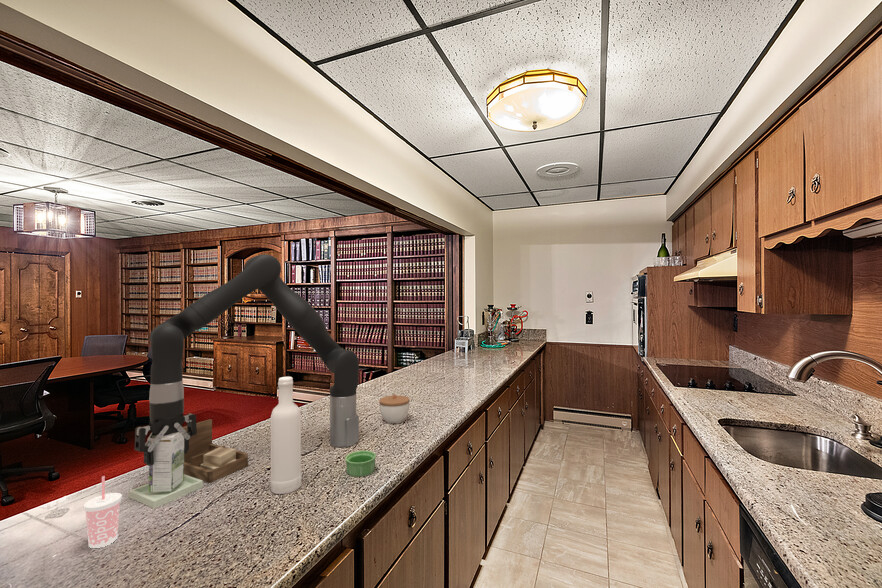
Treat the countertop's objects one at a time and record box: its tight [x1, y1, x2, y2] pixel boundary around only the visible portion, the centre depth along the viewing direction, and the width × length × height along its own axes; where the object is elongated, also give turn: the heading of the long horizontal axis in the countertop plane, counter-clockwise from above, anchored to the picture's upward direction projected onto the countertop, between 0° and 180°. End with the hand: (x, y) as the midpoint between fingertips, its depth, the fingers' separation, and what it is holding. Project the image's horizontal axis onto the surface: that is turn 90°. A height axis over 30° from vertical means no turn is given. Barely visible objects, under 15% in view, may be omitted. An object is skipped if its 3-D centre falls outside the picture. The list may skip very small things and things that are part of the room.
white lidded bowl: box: [378, 394, 410, 424], centre depth 160 cm, size 13×13×11 cm
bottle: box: [269, 376, 302, 495], centre depth 104 cm, size 8×8×30 cm
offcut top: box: [203, 447, 237, 467], centre depth 115 cm, size 6×6×3 cm
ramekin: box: [344, 450, 377, 478], centre depth 114 cm, size 9×9×4 cm
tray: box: [128, 474, 204, 509], centre depth 102 cm, size 12×12×2 cm
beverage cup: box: [83, 475, 123, 549], centre depth 81 cm, size 6×6×14 cm
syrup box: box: [148, 432, 184, 492], centre depth 102 cm, size 6×6×14 cm
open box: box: [181, 419, 249, 484], centre depth 117 cm, size 19×12×12 cm, turn 63°
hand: (167, 458), depth 102 cm, fingers closed on syrup box, 8 cm apart
